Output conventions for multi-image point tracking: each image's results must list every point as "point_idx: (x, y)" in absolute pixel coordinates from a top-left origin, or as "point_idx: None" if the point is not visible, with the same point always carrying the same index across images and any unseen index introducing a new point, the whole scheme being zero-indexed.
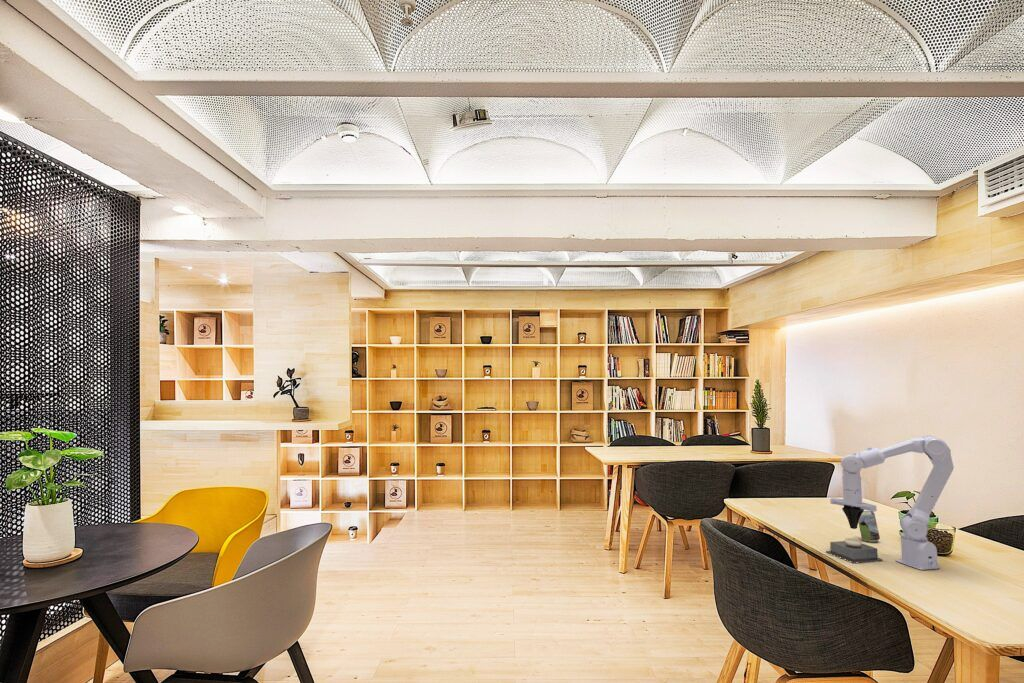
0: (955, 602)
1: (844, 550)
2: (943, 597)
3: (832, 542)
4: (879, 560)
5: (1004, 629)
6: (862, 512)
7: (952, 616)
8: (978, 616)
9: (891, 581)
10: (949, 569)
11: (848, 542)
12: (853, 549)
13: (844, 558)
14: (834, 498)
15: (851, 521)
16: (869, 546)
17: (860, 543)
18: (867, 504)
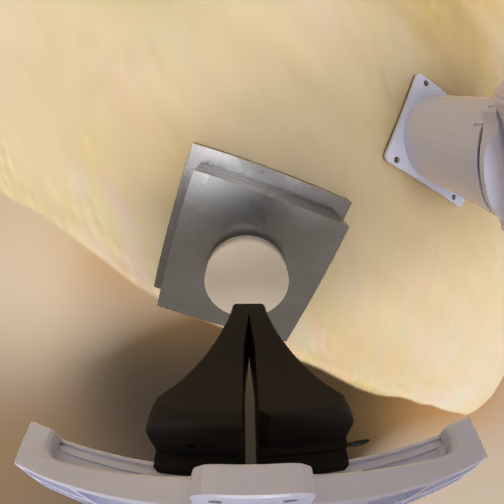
0: (481, 353)
1: None
2: (471, 351)
3: (166, 304)
4: (342, 217)
5: (498, 377)
6: (329, 388)
7: (462, 396)
8: (489, 370)
9: (400, 361)
10: None
11: None
12: (280, 330)
13: None
14: (29, 470)
15: (246, 378)
16: (309, 220)
17: (287, 281)
18: (417, 495)
